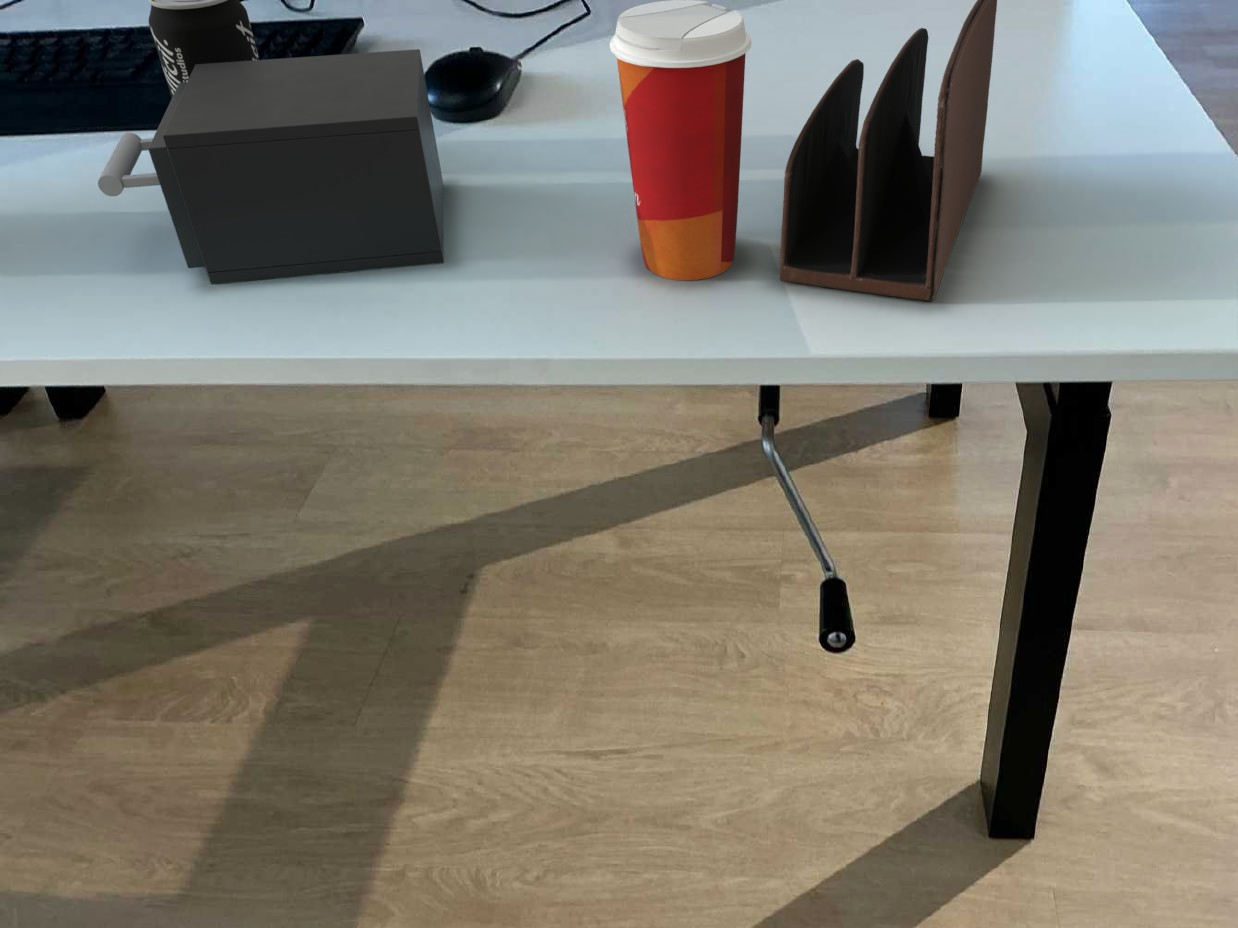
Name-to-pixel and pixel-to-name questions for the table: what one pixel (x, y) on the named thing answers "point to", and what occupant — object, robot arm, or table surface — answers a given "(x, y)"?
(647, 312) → the table surface
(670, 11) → the coffee cup
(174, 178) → the drawer
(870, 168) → the letter holder
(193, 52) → the beverage can
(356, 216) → the cabinet
